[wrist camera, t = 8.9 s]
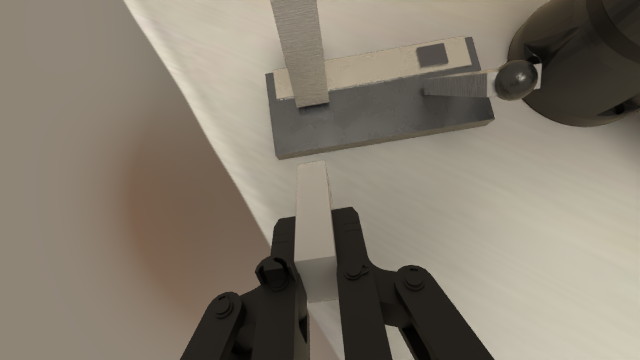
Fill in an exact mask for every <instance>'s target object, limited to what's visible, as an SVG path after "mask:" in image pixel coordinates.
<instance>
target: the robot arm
mask: <svg viewBox="0 0 640 360" xmlns="http://www.w3.org/2000/svg"><path fill="white" fill-rule="evenodd" d="M514 60H524V61H528V62H530V63H531V64H542V68H541V83H540V88H539V89H533V90H532V91H531V92H530V93H529V94H528V95H527V96H525V97H523V99H524V100H525V101H526V102H527V103H528V104H529V105H530V106H531V107H532V108H534V109H535V110H536V111H538V112H539V113H541V114H542V115H544V116H546V117H548V118H550V119H552V120H554V121H557V122H560V123H563V124H567V125H572V126H582V127H591V126H599V125H604V124H608V123H611V122H614V121H616V120H619V119H621V118H624V117H626V116H629V115H631V114H633V113H635V112H637V111H639V110H640V0H551V1H549V2H547V3H546V4H544V5H543V6H542V7H540V8H539V9H538V10H537V11H536V12H534V13H533V14H532V15H531V17H530V18H529V19H528V20H527V21H526V22H525V23H524V24H523V26H522V27H521V28H520V29H519V30H518V31H517V33H516V35H515V36H514V38H513V40H512V43H511V45H510V49H509V55H508V62H510V61H514ZM255 273H256V275H257V277H258V280H259V281H260V284H261V285H260V286H258V287H257V288H255V289H254V290H252V291H250V292H247V293H245V294H243V295H241V296H239V295H238V294H237V293H234V292H225V293H223V294H221V295H218V296H217V297H216V298H215V299H214V300H213V301H212V302H211V303H210V304H209V306H208V307H207V309H206V311H205V313H204V315H203V317H202V319H201V321H200V323H199V325H198V327H197V328H196V330H195V332H194V334H193V336H192V338H191V340H190V342H189V344H188V345H187V347H186V349H185V351H184V353H183V355H182V357H181V359H180V360H310V334H309V333H310V331H309V314H308V310H307V300H308V303H314V302H321V301H328V300H336V299H339V305H340V315H341V324H342V334H343V344H344V353H345V360H392V355H391V351H390V347H389V342H388V338H387V334H386V329H385V325H390V326H394V327H398V329H399V331H400V333H401V335H402V337H403V339H404V340H405V342H406V344H407V346H408V348H409V350H410V352H411V354H412V356H413V358H414V359H415V360H494V358H493V357H492V356H491V354H490V353H489V352H488V350H487V349H486V348H485V346H484V345H483V344H482V342H481V341H480V340H479V338H478V337H477V336H476V334H475V333H474V331H473V330H472V329H471V327H470V326H469V325H468V323H467V322H466V321H465V319H464V318H463V317H462V315H461V314H460V313H459V311H458V310H457V309H456V307H455V306H454V305H453V303H452V302H451V301H450V299H449V298H448V297H447V295H446V294H445V293H444V291H443V290H442V289H441V287H440V286H439V285H438V283H437V282H436V281H435V279H434V278H433V277H432V275H431V274H430V273H429V272H428V271H427V270H426V269H424V268H422V267H419V266H415V265H408V266H404V267H402V268H400V269H399V270H398V271H397V272H394V271H388V270H383V269H380V268H378V267H376V266H375V265H373V264H372V263H371V261H370V260H369V258H368V255H367V251H366V247H365V242H364V238H363V233H362V229H361V225H360V220H359V216H358V213H357V212H356V211H355V210H354V209H353V207H347V208H341V209H334V210H333V203H332V196H331V191H330V186H329V180H328V175H327V170H326V165H325V160H322V161H316V162H310V163H304V164H298V173H297V199H296V216H294V217H288V218H282V219H279V220H278V222H277V223H276V225H275V226H274V231H273V239H272V247H271V256H269V257H267V258H265V259H264V260H262V261H261V262H260V264H259V265H258V266H257V268H256V270H255ZM384 324H385V325H384Z"/></svg>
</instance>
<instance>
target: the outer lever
mask: <svg viewBox="0 0 640 360" xmlns="http://www.w3.org/2000/svg"><path fill="white" fill-rule="evenodd" d="M270 1H271V5H272V9H273V13H274V17H275V21H276V26H277V30H278V34H279V38H280V42H281V46H282V50H283V54H284V58H285V62H286V66H287V70H288V74H289V78H290V82H291V86H292V90H293V94H294V98H295V102H296V106H297V108H299V107H304V106H310V105H316V104H322V103H327V102H329V95H328V88H327V80H326V72H325V64H324V56H323V49H322V41H321V33H320V25H319V17H318V10H317V2H316V0H270Z"/></svg>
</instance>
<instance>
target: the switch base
mask: <svg viewBox="0 0 640 360" xmlns="http://www.w3.org/2000/svg"><path fill="white" fill-rule="evenodd" d="M324 64H325V72H326V80H327V88H328V95H329V102H327V103H322V104H316V105H310V106H304V107H299V108H297V106H296V102H295V98H294V94H293V90H292V86H291V82H290V78H289V74H288V70H287V68H283V69H277V70H273V73H268V74H265V75H266V83H267V91H268V99H269V107H270V115H271V122H272V130H273V138H274V146H275V154H276V156H277V158H278V159H279V160H282V159H288V158H294V157H300V156H306V155H312V154H318V153H324V152H330V151H336V150H342V149H348V148H354V147H360V146H366V145H372V144H378V143H384V142H390V141H396V140H402V139H408V138H414V137H419V136H425V135H431V134H437V133H443V132H449V131H455V130H461V129H467V128H473V127H479V126H485V125H487V124H488V123H490V122H491V121H492V120H494V119H495V117H494V114H493V110H492V107H491V103H490V100H489V97H465V96H442V95H424V79H429V78H435V77H441V76H446V75H452V74H458V73H466V72H475V71H481V68H480V64H479V61H478V57H477V54H476V50H475V46H474V43H473V39H472V37H468V38H464V36H460V37H454V38H449V39H443V40H438V41H432V42H427V43H421V44H416V45H410V46H405V47H399V48H393V49H388V50H382V51H377V52H371V53H366V54H360V55H355V56H349V57H344V58H338V59H333V60H327V61H324Z"/></svg>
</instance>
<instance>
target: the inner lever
mask: <svg viewBox="0 0 640 360" xmlns="http://www.w3.org/2000/svg"><path fill="white" fill-rule="evenodd" d="M541 68H542V64H531V63H530V62H528V61H524V60H514V61H510V62H508V63H506V64H504V65H502V66H501V67H500V68H499V69H491V70H483V71H475V72H466V73H458V74H452V75H446V76H441V77H435V78H429V79H424V95H442V96H465V97H492V96H498V97H499V98H501V99H503V100H508V101H512V100H518V99H521V98H523V97H525V96H527V95H528V94H529V93H530V92H531V91H532V90H533V89H539V88H540V83H541Z"/></svg>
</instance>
